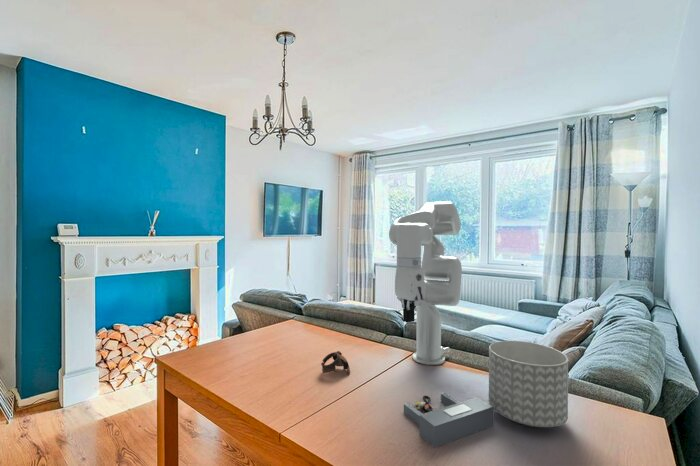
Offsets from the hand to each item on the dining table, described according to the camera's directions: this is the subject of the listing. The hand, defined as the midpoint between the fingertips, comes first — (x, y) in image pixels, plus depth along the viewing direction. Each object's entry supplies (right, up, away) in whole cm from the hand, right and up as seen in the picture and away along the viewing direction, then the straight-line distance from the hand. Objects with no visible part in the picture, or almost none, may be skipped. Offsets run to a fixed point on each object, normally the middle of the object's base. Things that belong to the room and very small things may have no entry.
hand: (408, 321), depth 105 cm
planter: (+30, -23, -14) cm, 40 cm away
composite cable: (+4, -23, -7) cm, 25 cm away
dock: (+7, -23, -15) cm, 28 cm away
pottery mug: (-23, -23, +16) cm, 36 cm away
